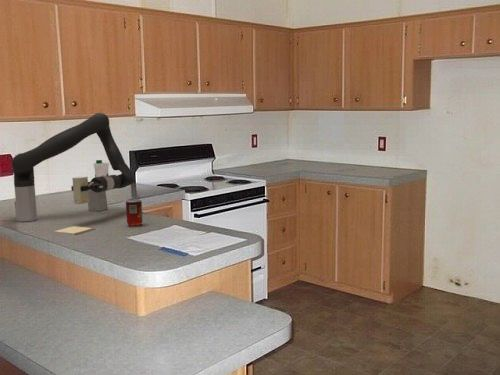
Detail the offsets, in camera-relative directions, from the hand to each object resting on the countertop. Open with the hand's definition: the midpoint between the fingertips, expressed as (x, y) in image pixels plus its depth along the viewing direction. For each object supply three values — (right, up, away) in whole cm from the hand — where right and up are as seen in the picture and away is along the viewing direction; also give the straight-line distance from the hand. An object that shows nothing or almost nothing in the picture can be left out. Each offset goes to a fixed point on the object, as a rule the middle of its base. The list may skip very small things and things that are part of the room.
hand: (76, 188), depth 242 cm
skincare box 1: (+1, -7, +3) cm, 8 cm away
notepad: (+1, -19, -6) cm, 20 cm away
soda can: (+26, -17, +1) cm, 32 cm away
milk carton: (-24, 0, +128) cm, 131 cm away
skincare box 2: (-3, -12, +44) cm, 45 cm away
